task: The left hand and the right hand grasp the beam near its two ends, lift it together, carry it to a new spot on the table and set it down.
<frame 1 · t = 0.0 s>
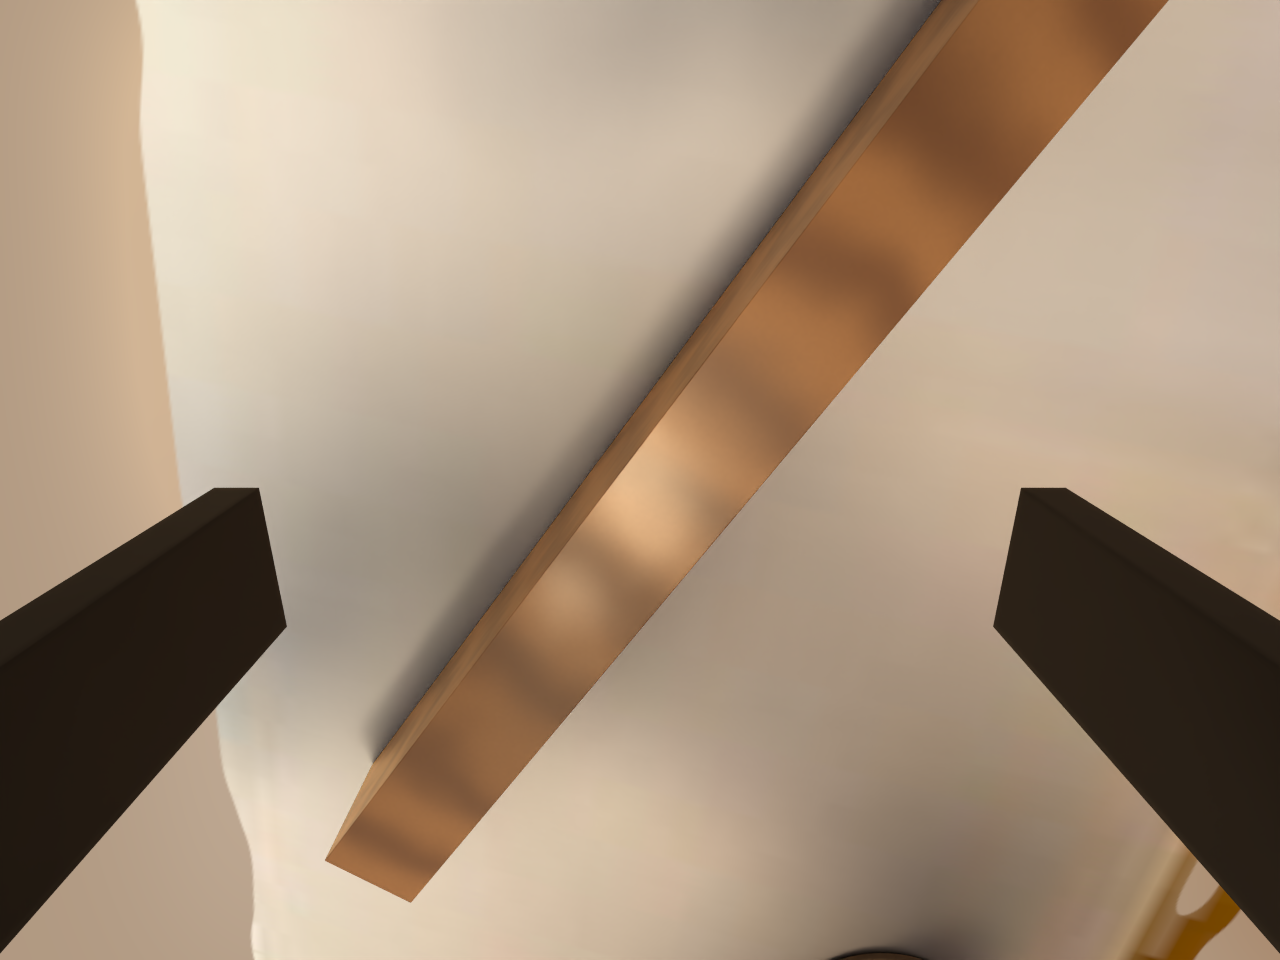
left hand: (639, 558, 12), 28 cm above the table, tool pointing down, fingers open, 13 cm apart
beam: (735, 363, 39), on the table
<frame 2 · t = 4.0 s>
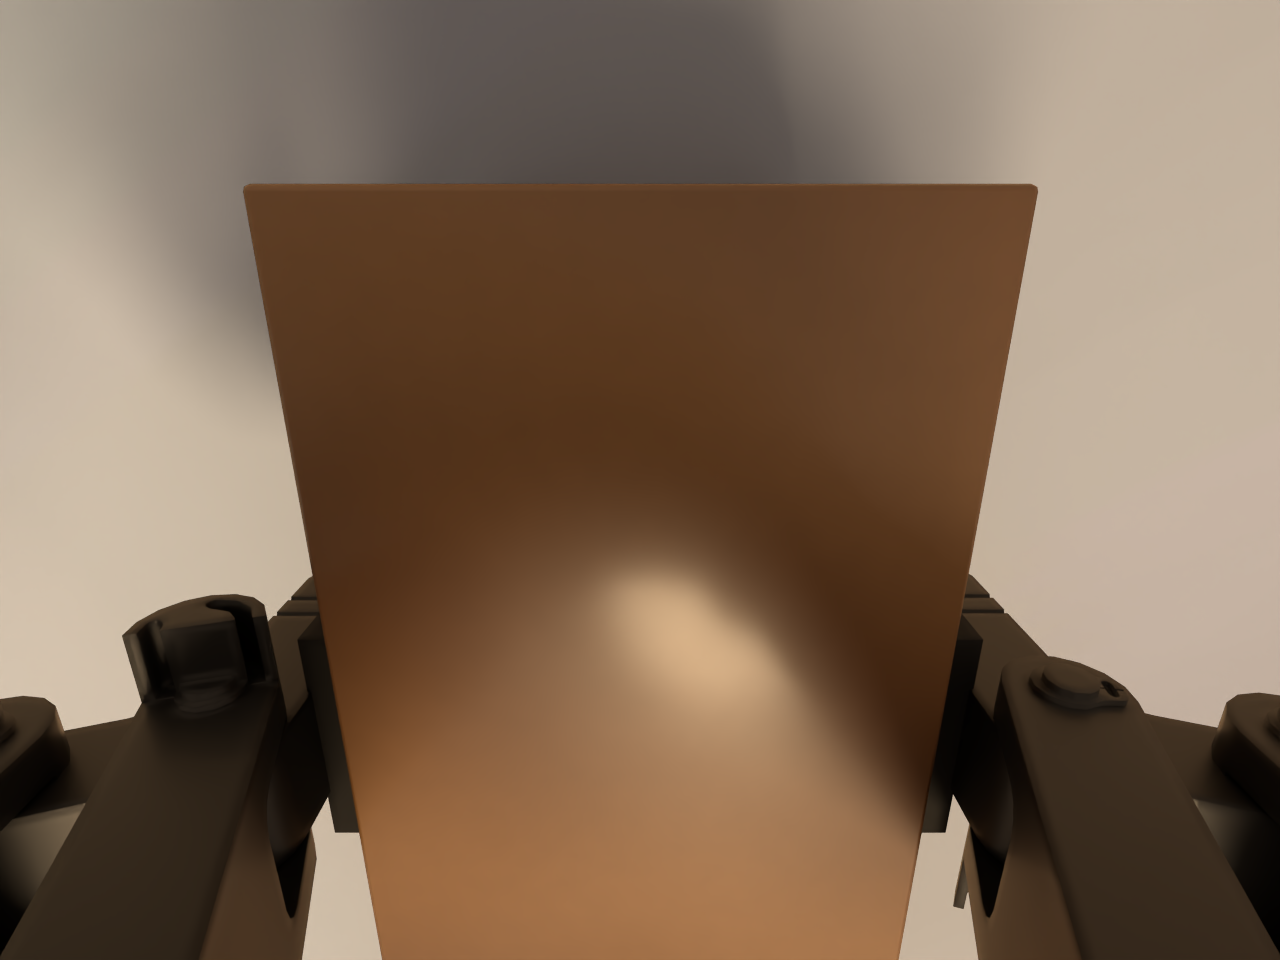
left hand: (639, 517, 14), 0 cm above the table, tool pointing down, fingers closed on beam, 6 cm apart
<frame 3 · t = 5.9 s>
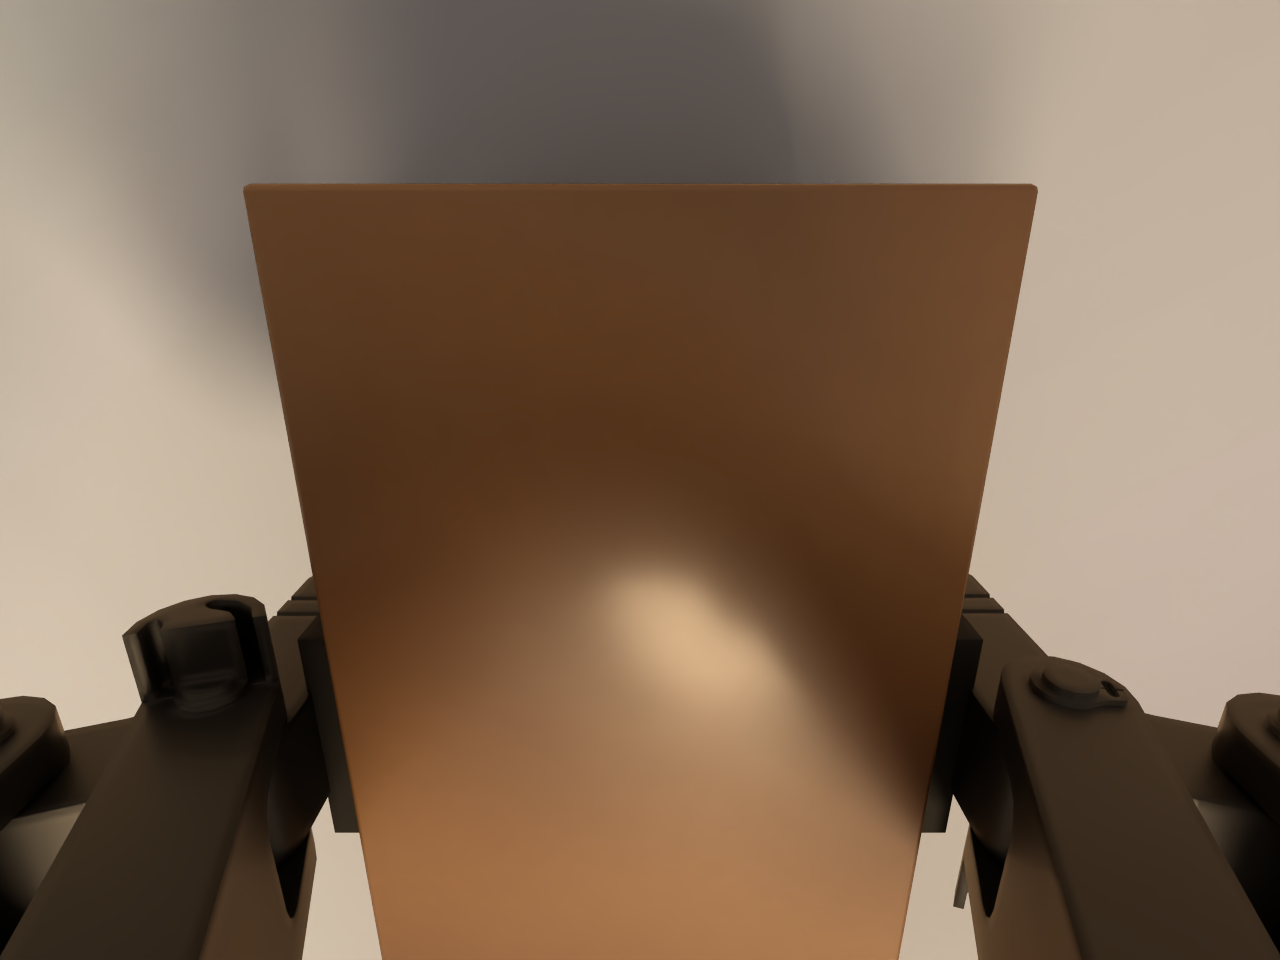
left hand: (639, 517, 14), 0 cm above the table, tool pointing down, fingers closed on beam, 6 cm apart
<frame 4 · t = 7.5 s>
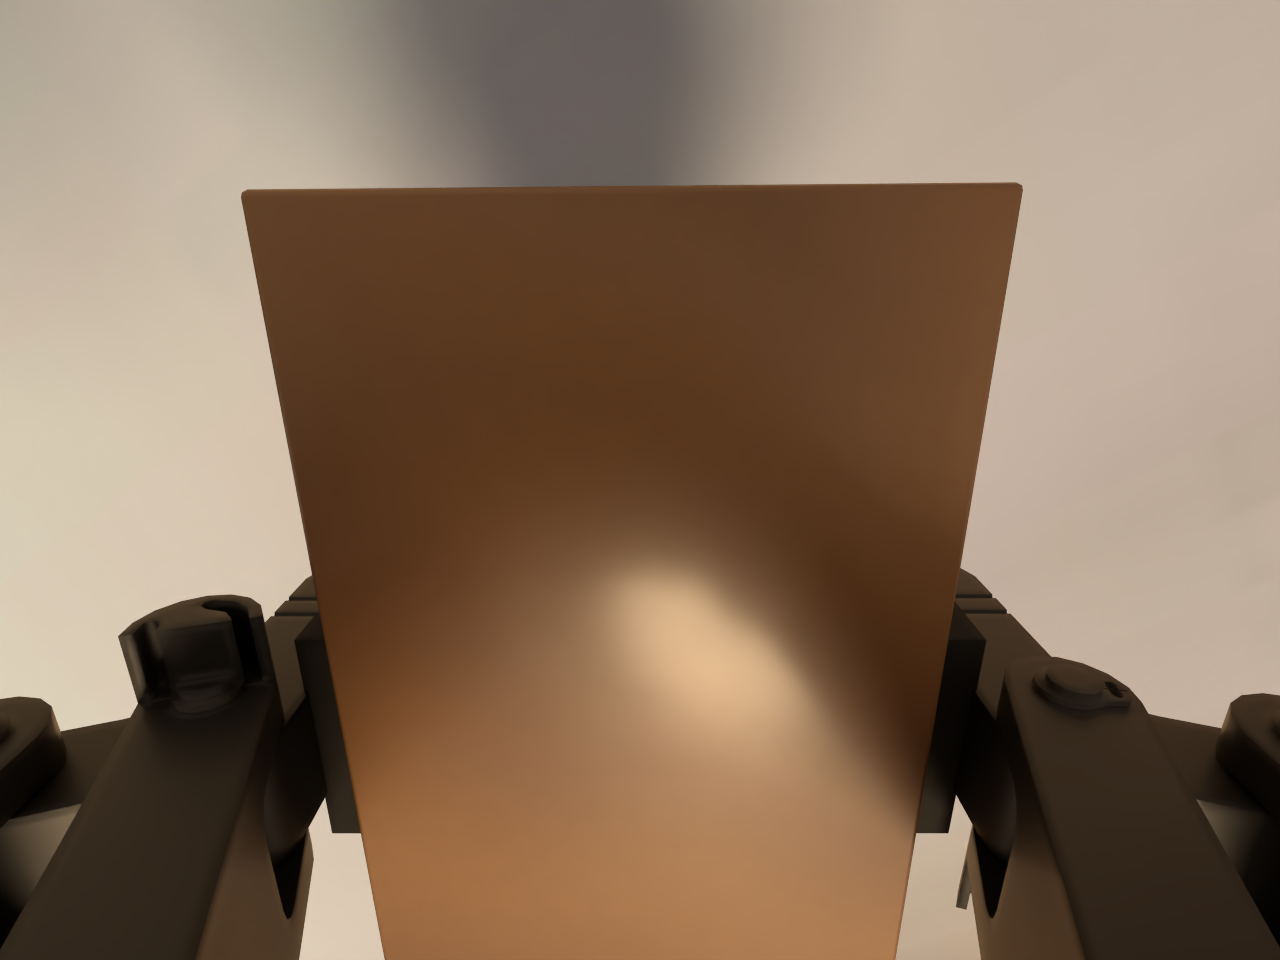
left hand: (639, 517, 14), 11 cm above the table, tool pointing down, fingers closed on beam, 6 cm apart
when the left hand's fingers open (2 cm above the table, at t = 11.2 s): beam drops 1 cm, on the table.
when the right hand's fingers open (2 cm above the table, at t = 11.2 s): beam drops 1 cm, on the table.
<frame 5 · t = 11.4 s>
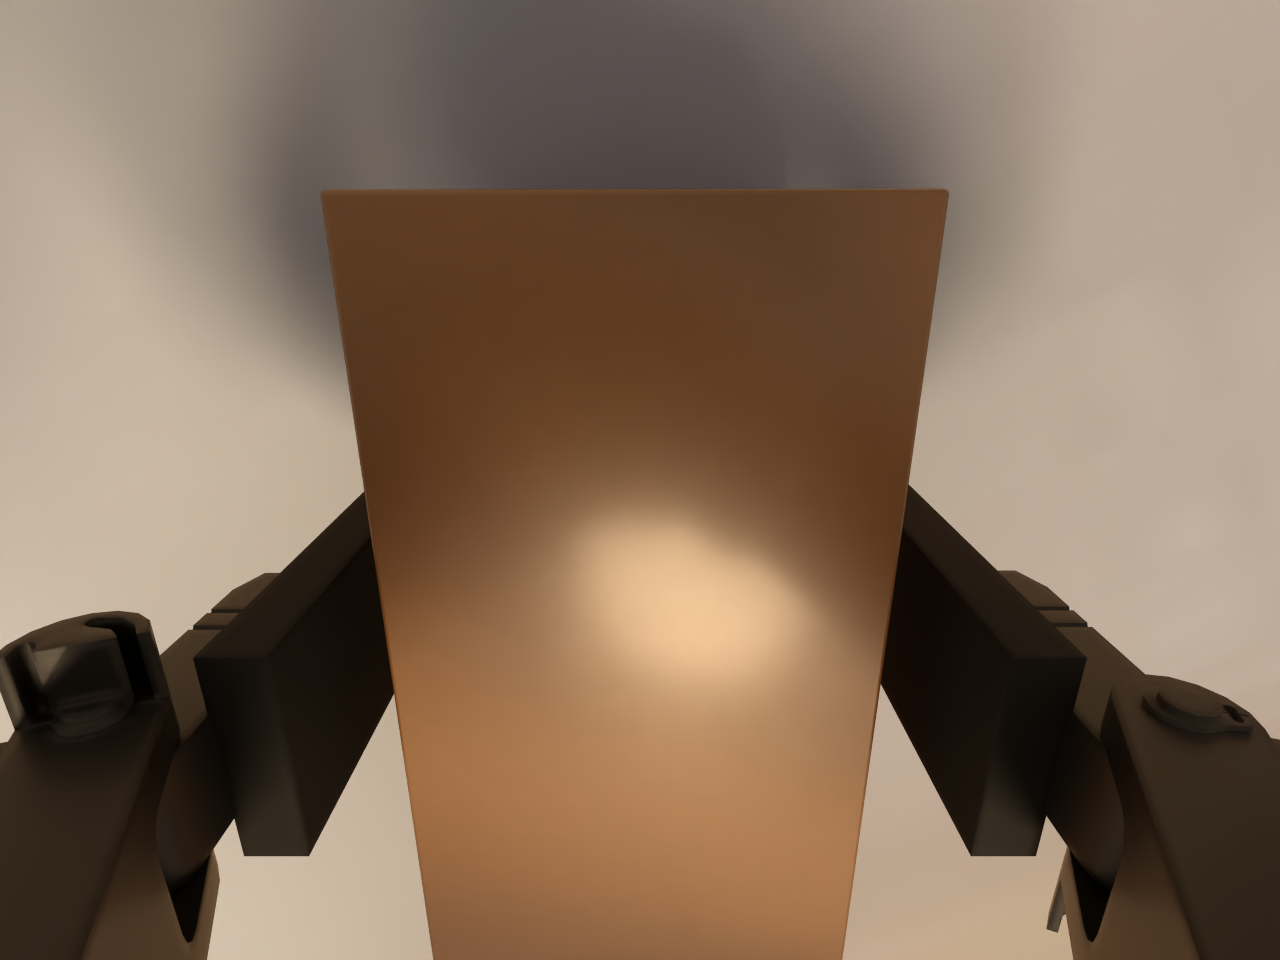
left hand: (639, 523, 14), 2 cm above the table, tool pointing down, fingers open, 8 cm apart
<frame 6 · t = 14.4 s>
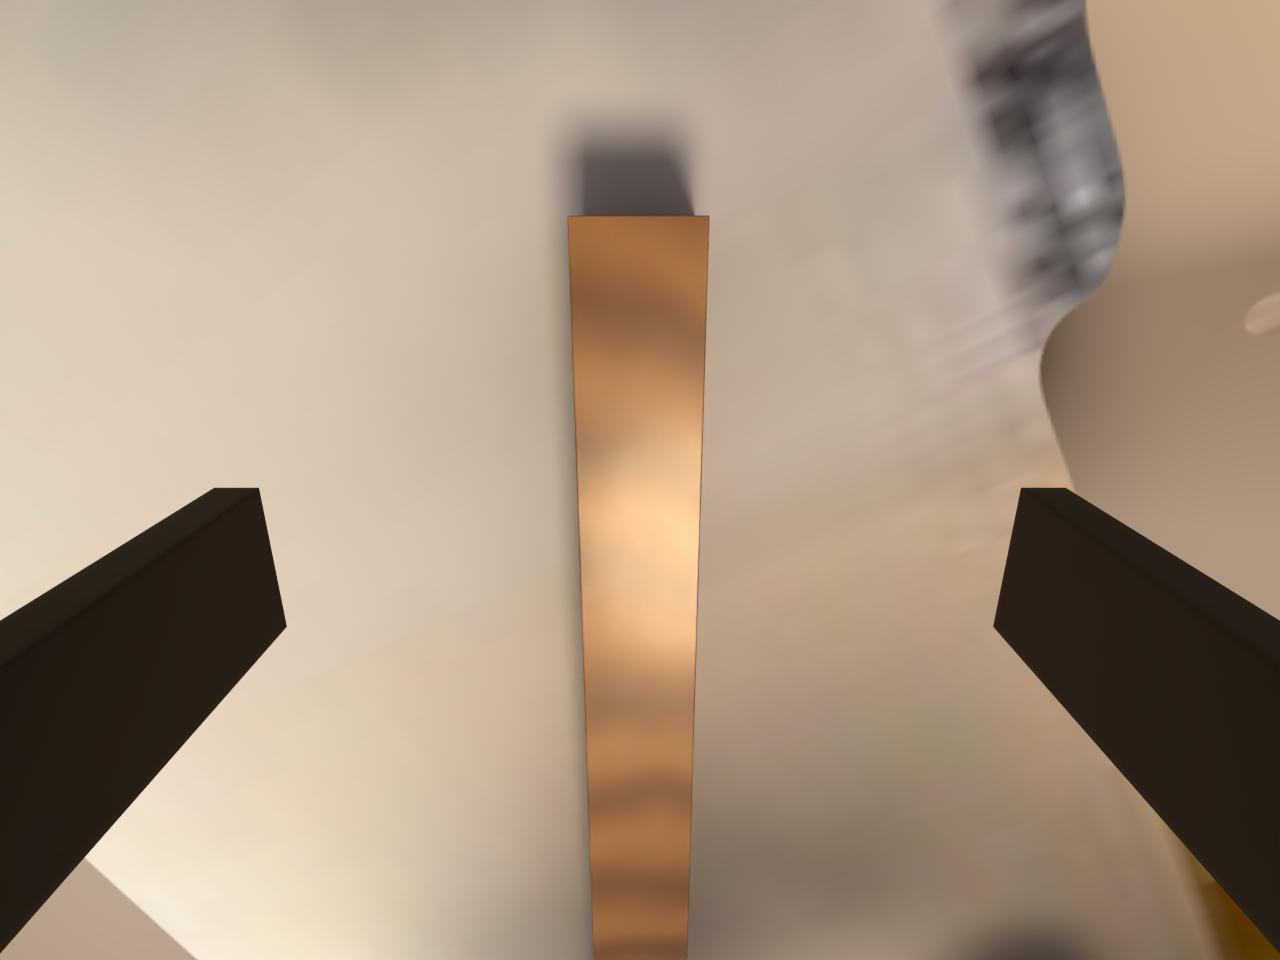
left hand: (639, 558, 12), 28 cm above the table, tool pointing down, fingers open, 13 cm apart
beam: (640, 781, 49), on the table
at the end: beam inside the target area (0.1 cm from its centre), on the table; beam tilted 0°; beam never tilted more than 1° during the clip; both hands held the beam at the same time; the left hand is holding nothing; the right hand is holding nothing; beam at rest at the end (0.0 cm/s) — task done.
